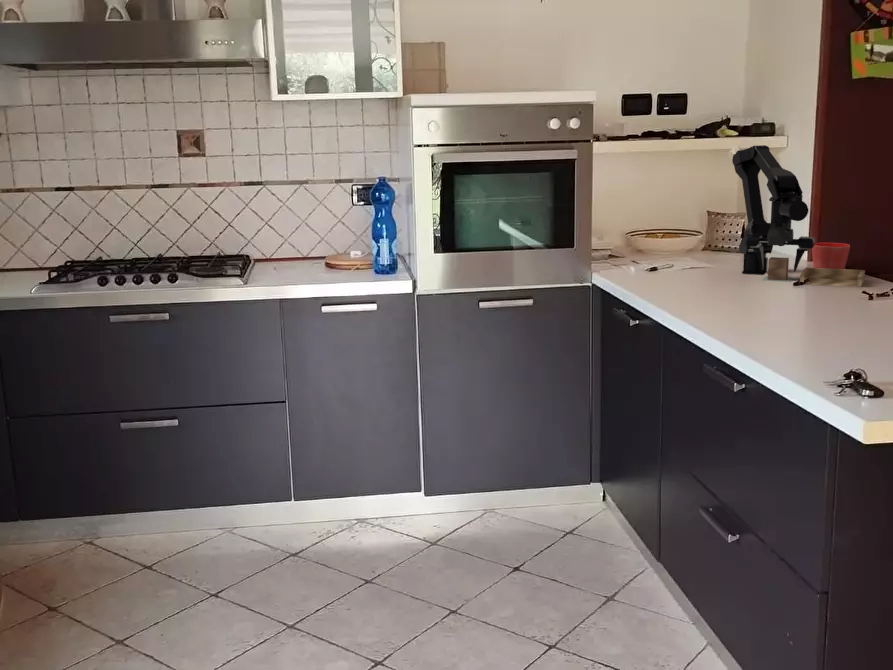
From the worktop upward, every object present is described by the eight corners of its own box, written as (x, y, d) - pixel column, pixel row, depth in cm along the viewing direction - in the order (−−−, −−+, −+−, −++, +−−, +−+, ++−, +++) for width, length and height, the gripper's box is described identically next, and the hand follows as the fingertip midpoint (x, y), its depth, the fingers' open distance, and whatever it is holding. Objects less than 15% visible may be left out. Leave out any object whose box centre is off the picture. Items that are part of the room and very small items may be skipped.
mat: (761, 282, 266) (761, 280, 266) (766, 277, 273) (766, 276, 273) (790, 283, 262) (790, 281, 262) (794, 279, 269) (794, 277, 269)
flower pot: (840, 273, 278) (843, 241, 276) (853, 279, 267) (855, 246, 265) (805, 273, 279) (807, 242, 277) (815, 279, 268) (817, 246, 266)
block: (767, 279, 267) (768, 259, 265) (770, 277, 271) (771, 257, 270) (785, 280, 264) (786, 260, 263) (787, 277, 269) (788, 257, 267)
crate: (799, 285, 259) (800, 273, 258) (805, 279, 269) (805, 267, 268) (860, 288, 251) (861, 276, 250) (864, 282, 261) (864, 270, 261)
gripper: (742, 219, 261) (740, 273, 265) (811, 221, 252) (808, 276, 256) (750, 216, 271) (747, 267, 274) (816, 217, 262) (813, 270, 265)
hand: (778, 270), depth 267 cm, fingers open, 9 cm apart
